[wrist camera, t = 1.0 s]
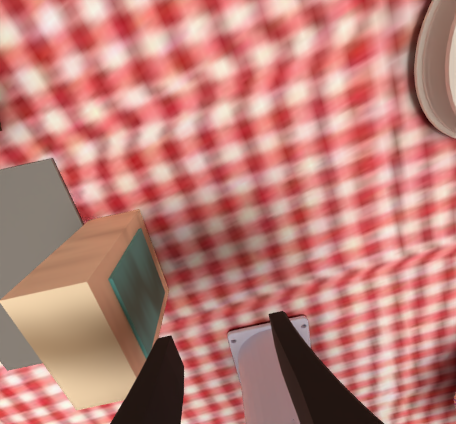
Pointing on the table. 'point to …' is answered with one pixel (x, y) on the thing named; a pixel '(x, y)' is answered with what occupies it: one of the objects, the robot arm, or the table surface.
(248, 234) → the table surface
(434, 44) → the lid
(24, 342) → the mat
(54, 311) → the marked block
